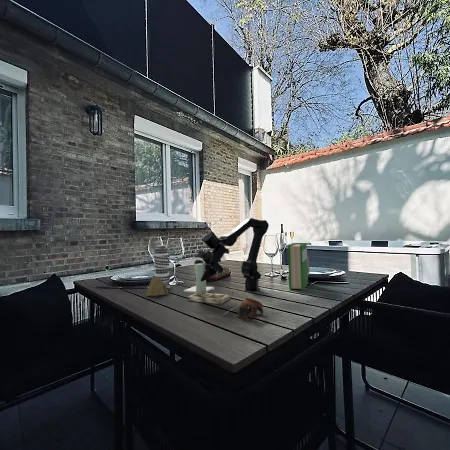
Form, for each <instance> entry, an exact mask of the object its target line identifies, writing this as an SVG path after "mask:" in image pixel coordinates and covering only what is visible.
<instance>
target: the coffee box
mask: <svg viewBox="0 0 450 450" xmlns="http://www.w3.org/2000/svg"><path fill="white" fill-rule="evenodd" d="M307 271H308V273H309V274H310V254H309V253H308V252H307Z"/></svg>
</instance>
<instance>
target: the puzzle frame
mask: <svg viewBox="0 0 450 450" xmlns="http://www.w3.org/2000/svg"><path fill="white" fill-rule="evenodd" d="M230 298H231V297H230V294H221V293H210V292H206V294H203V295H198V294H196V293H193V294H191V295H188V296H187V301H189V302H195V303H196V302H197V303H207V304H208V303H209V304H216V305H217V304H218V305H221V304H224V303H225V302H227V301H229V300H230Z"/></svg>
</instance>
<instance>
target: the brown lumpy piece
mask: <svg viewBox="0 0 450 450" xmlns="http://www.w3.org/2000/svg"><path fill="white" fill-rule="evenodd" d="M263 305H264V303H262V302H260V301H259V300H256V299H253V298H250V297H245V298H244V300H243V301H242V302H241V303H240V306H239V310H238V312H237V318H239V319H242V320H244V321H248V318H250V319H251V320H252V319H255V318H256V314H257V312H258V311H259V312H260V316H261V317H263V315H264V308H263Z"/></svg>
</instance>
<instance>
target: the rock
mask: <svg viewBox="0 0 450 450" xmlns="http://www.w3.org/2000/svg"><path fill="white" fill-rule="evenodd" d="M163 295H169V288H168V289H167V288H166V285H165V284H164V283H163V282H162V281H161V280H160V279H159V278H158V277H157V276H155V275H153V276H152V278H151V280H150V282H149V285H148V287H147V291H146V295H145V296H146V297H148V296H149V297H156V296H163Z"/></svg>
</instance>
